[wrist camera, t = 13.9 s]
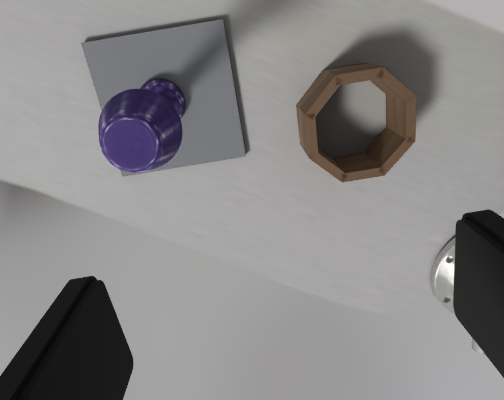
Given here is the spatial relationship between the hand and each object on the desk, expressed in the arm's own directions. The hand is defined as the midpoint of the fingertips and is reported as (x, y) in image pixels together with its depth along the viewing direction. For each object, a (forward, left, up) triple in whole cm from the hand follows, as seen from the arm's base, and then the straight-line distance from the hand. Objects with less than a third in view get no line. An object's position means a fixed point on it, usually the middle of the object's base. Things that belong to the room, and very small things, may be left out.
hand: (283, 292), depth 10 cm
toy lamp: (+2, +7, -27) cm, 28 cm away
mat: (+2, +7, -28) cm, 28 cm away
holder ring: (-2, -9, -28) cm, 29 cm away
